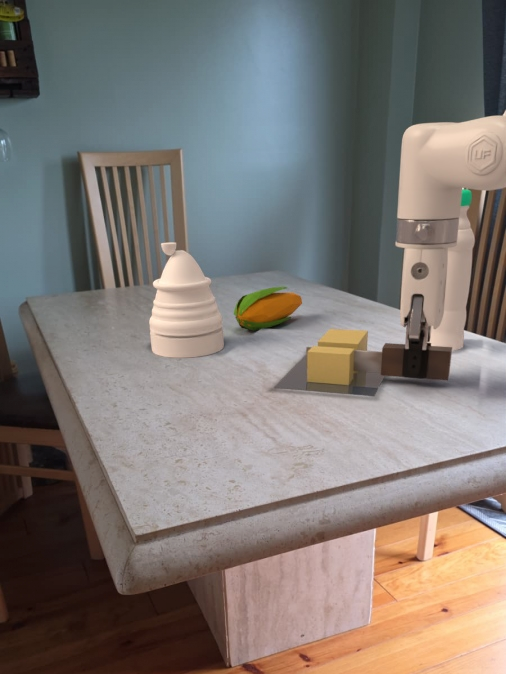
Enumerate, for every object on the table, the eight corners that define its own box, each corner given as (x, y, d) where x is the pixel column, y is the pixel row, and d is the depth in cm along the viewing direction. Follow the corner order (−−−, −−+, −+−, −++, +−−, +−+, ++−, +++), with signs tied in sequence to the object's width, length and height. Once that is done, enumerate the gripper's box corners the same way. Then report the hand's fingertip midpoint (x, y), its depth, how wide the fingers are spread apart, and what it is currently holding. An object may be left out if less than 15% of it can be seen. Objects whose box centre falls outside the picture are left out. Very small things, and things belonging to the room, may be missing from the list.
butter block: (366, 358, 98) (368, 330, 96) (357, 373, 91) (358, 343, 89) (329, 356, 100) (330, 328, 98) (317, 370, 93) (317, 341, 91)
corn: (223, 292, 117) (285, 276, 131) (223, 331, 121) (284, 312, 135) (253, 298, 113) (314, 282, 127) (252, 339, 117) (312, 318, 131)
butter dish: (394, 361, 100) (395, 355, 99) (373, 403, 83) (374, 396, 82) (309, 355, 104) (310, 350, 104) (273, 394, 87) (273, 387, 87)
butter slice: (353, 379, 89) (354, 348, 87) (348, 385, 86) (350, 354, 85) (312, 375, 91) (313, 345, 89) (307, 382, 88) (307, 351, 86)
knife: (449, 375, 85) (452, 347, 84) (447, 380, 83) (451, 351, 82) (308, 364, 92) (308, 338, 90) (304, 369, 90) (304, 342, 88)
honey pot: (161, 361, 104) (150, 249, 96) (144, 343, 115) (133, 241, 107) (234, 351, 108) (229, 243, 100) (211, 335, 119) (205, 236, 111)
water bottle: (439, 343, 109) (454, 188, 99) (471, 351, 103) (490, 188, 93) (409, 349, 106) (421, 190, 95) (441, 358, 100) (457, 190, 90)
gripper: (453, 240, 70) (438, 395, 78) (461, 227, 84) (448, 359, 91) (386, 240, 73) (378, 390, 80) (404, 227, 86) (396, 356, 94)
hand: (415, 372), depth 86 cm, fingers closed on knife, 2 cm apart
